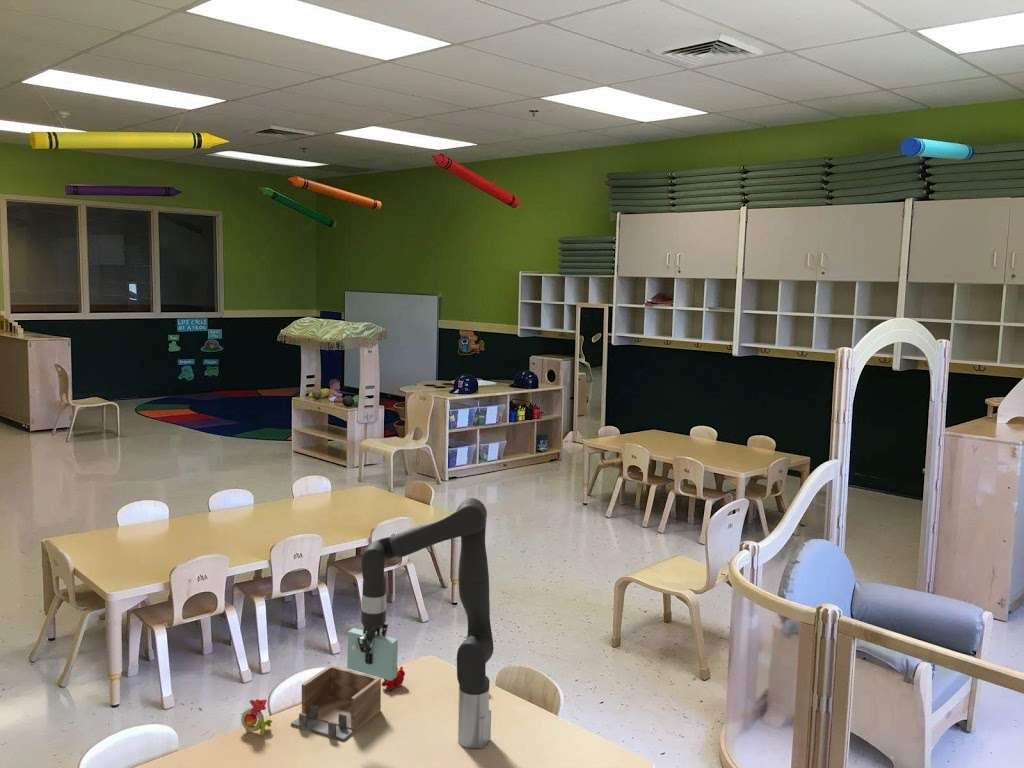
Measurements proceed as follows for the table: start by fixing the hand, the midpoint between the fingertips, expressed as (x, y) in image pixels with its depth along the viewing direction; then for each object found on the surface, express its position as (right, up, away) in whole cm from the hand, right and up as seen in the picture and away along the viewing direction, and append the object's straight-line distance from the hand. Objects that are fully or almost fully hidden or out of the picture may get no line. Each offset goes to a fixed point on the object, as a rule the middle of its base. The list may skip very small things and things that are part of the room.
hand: (372, 661), depth 263 cm
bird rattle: (-36, -23, +2) cm, 43 cm away
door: (0, -4, 0) cm, 4 cm away
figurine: (+1, -19, +37) cm, 42 cm away
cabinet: (-13, -22, +12) cm, 28 cm away
